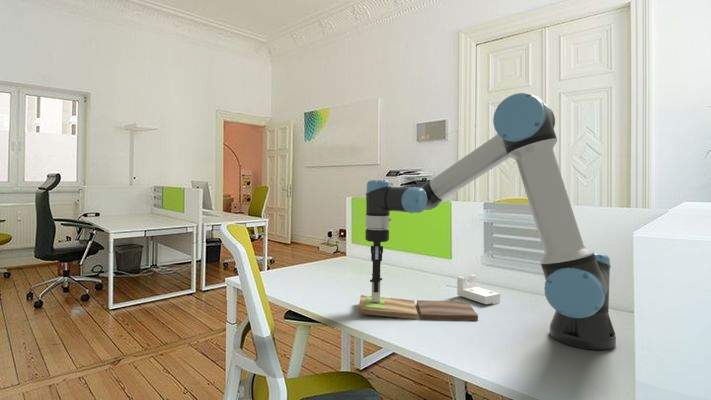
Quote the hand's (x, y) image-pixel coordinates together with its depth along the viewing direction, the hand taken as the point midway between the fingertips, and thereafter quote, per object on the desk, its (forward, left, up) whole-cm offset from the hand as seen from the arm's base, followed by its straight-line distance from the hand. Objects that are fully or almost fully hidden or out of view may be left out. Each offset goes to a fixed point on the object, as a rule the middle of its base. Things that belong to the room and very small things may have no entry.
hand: (375, 301), depth 125 cm
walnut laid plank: (0, -22, -3) cm, 22 cm away
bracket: (+14, -36, -4) cm, 39 cm away
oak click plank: (0, -4, -2) cm, 4 cm away
